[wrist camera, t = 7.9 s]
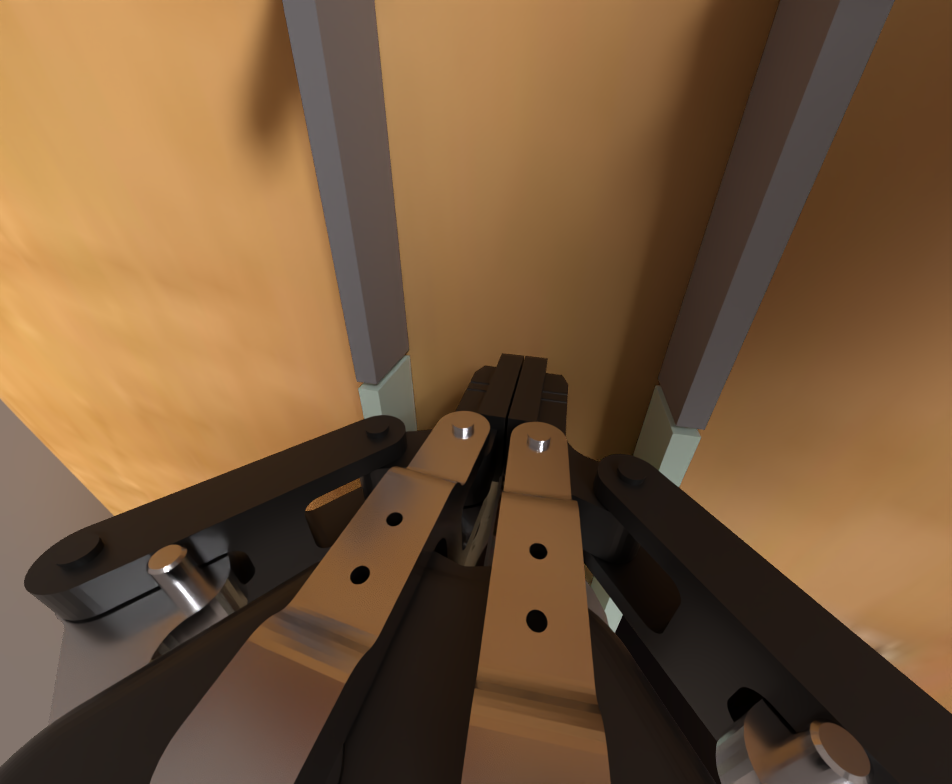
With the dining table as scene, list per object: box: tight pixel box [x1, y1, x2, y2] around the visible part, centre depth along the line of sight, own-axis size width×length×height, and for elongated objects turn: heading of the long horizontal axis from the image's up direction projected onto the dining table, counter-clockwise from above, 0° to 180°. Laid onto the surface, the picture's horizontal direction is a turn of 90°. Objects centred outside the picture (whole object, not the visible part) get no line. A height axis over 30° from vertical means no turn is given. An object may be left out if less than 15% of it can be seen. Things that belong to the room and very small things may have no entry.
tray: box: [358, 355, 701, 633], centre depth 17 cm, size 12×15×3 cm
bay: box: [282, 0, 895, 430], centre depth 9 cm, size 14×12×5 cm
